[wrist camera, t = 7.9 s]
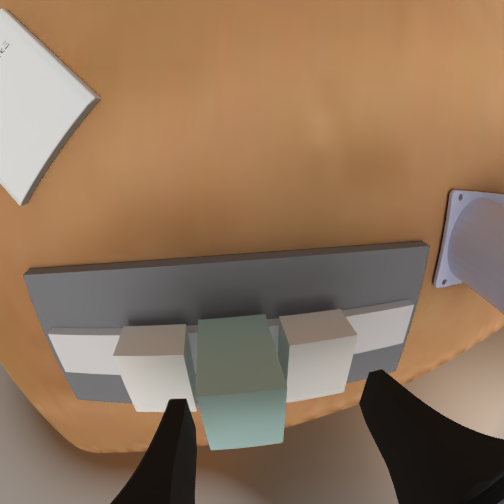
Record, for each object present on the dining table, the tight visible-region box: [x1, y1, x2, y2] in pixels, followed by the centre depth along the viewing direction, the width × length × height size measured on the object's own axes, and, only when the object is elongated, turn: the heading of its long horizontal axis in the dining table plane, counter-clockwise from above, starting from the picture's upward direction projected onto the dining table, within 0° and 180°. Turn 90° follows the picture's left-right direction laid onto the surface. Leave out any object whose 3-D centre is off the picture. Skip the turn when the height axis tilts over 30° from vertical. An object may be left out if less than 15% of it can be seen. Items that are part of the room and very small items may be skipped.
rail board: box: [23, 241, 430, 412], centre depth 18 cm, size 28×12×5 cm, turn 91°
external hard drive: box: [0, 8, 101, 206], centre depth 12 cm, size 2×8×12 cm
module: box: [196, 314, 287, 450], centre depth 16 cm, size 4×5×6 cm
